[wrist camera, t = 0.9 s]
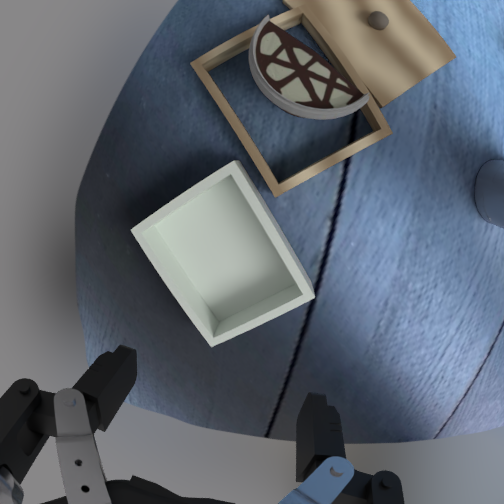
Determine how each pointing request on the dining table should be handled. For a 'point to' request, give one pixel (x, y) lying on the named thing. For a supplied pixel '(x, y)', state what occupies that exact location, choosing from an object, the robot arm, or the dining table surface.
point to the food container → (299, 76)
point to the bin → (224, 256)
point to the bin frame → (338, 62)
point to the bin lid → (382, 42)
